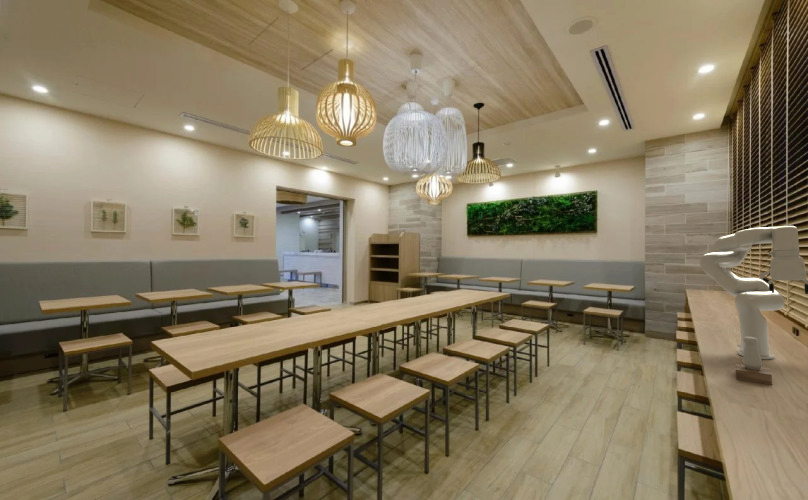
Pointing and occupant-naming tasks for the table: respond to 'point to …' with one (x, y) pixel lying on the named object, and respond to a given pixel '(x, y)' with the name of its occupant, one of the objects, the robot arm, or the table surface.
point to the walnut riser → (753, 374)
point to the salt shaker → (751, 354)
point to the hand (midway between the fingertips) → (789, 293)
